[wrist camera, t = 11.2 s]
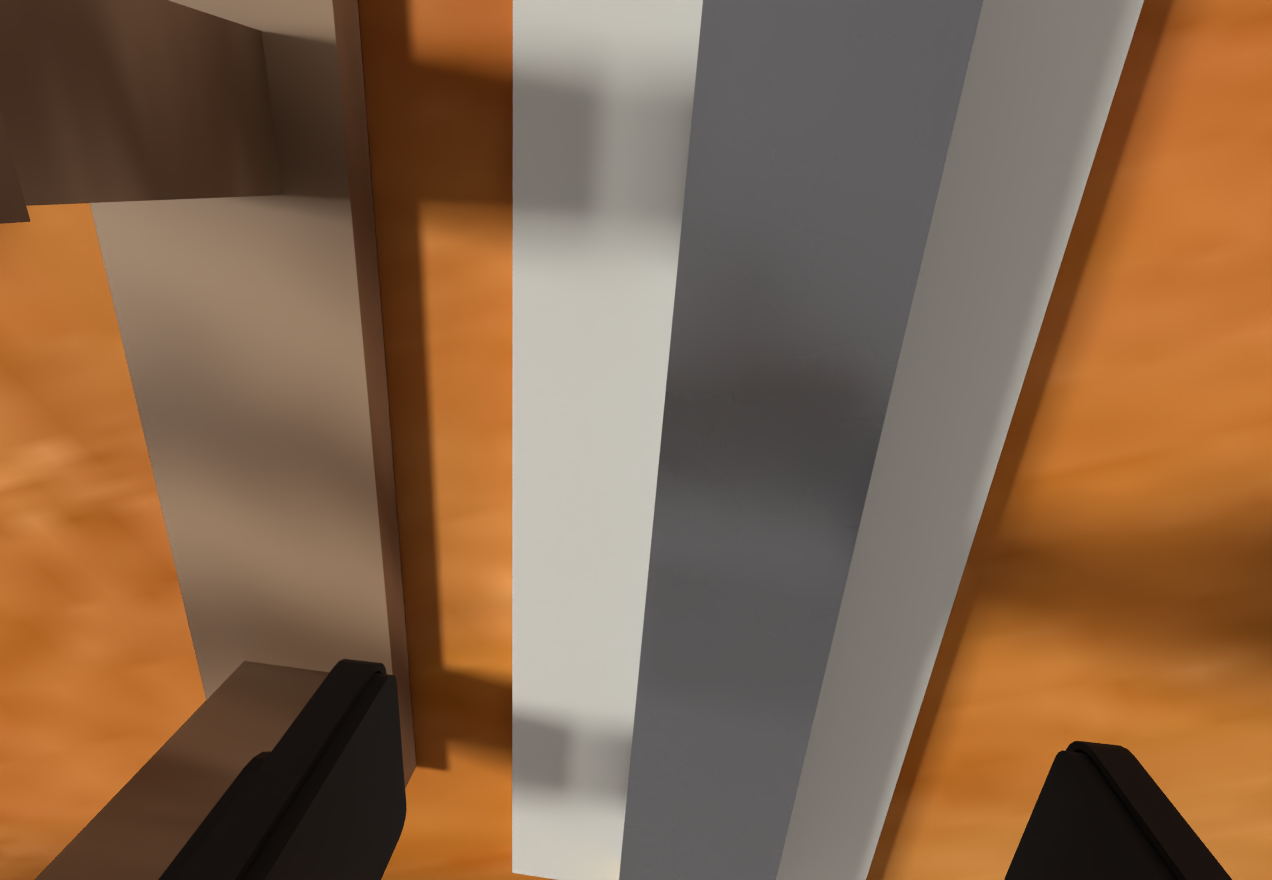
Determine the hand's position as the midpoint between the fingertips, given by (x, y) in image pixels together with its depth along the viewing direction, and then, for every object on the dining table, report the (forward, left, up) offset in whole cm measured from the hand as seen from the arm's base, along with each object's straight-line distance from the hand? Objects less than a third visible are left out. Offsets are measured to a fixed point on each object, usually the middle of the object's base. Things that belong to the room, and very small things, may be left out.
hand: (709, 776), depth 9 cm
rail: (0, -1, -7) cm, 7 cm away
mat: (0, -1, -8) cm, 8 cm away
